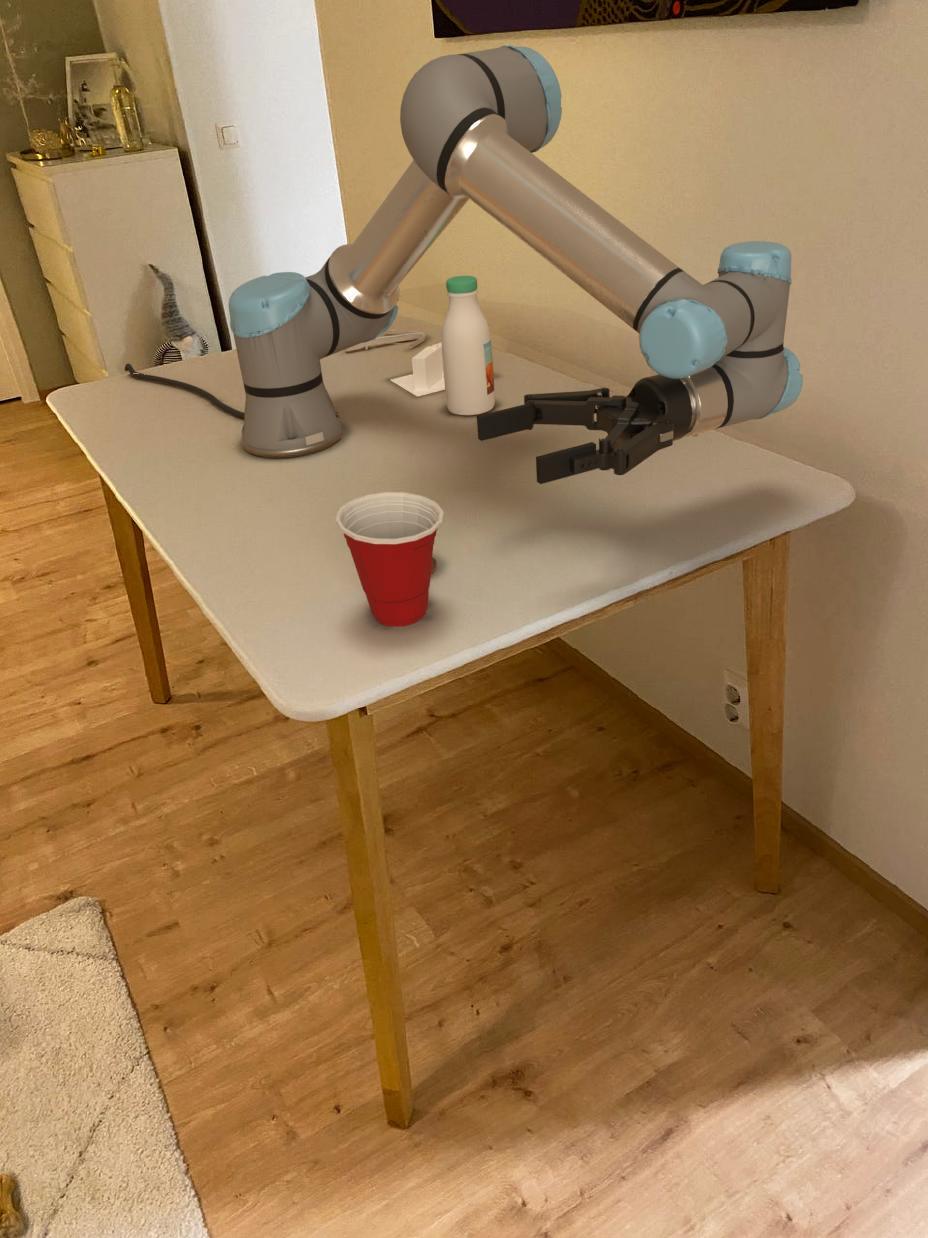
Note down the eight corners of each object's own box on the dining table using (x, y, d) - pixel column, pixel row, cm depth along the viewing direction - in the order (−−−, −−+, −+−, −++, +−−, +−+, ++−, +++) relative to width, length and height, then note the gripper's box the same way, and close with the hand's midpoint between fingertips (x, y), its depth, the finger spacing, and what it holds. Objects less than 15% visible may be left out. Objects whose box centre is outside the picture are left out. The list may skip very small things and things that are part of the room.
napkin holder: (417, 396, 162) (414, 362, 159) (388, 379, 170) (384, 347, 167) (495, 376, 167) (493, 343, 164) (463, 361, 176) (461, 329, 173)
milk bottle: (479, 419, 151) (469, 286, 140) (437, 413, 155) (425, 283, 144) (504, 402, 156) (496, 273, 146) (463, 397, 160) (453, 270, 149)
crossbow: (413, 333, 196) (413, 323, 195) (436, 349, 186) (435, 338, 185) (336, 343, 191) (335, 332, 190) (355, 359, 181) (354, 348, 180)
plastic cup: (438, 644, 99) (427, 538, 92) (337, 637, 101) (319, 534, 95) (463, 589, 107) (454, 489, 101) (370, 584, 110) (355, 486, 104)
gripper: (744, 474, 102) (567, 526, 95) (614, 405, 121) (459, 444, 114) (750, 405, 98) (566, 453, 91) (615, 345, 117) (454, 381, 110)
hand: (506, 448), depth 103 cm, fingers open, 13 cm apart
